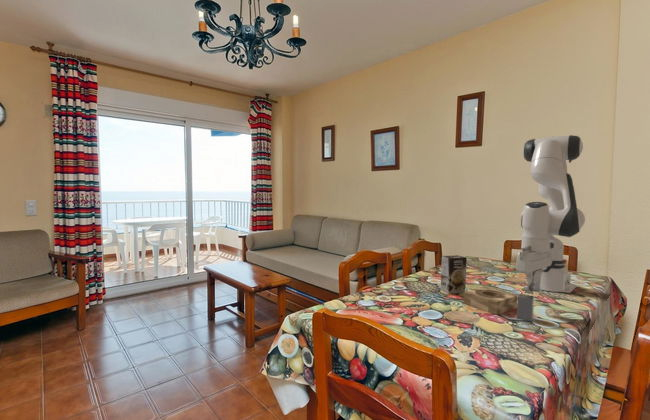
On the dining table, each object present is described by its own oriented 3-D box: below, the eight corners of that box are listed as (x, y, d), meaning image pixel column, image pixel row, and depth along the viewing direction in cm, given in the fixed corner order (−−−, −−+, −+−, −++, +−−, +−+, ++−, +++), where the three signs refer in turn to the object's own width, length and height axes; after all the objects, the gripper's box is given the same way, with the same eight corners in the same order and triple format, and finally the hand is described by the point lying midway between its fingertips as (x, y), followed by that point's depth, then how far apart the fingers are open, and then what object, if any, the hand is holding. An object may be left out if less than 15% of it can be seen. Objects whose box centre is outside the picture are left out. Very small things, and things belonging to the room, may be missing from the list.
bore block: (483, 298, 140) (483, 286, 140) (516, 308, 128) (517, 295, 128) (463, 303, 133) (463, 291, 132) (496, 315, 121) (497, 301, 121)
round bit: (530, 287, 127) (531, 267, 127) (542, 290, 124) (543, 269, 123) (524, 289, 125) (525, 269, 125) (536, 292, 122) (537, 271, 121)
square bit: (518, 314, 121) (519, 293, 121) (532, 317, 118) (533, 296, 118) (516, 318, 118) (517, 296, 117) (531, 321, 115) (532, 299, 114)
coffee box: (448, 294, 145) (449, 258, 144) (440, 289, 151) (441, 255, 150) (466, 292, 148) (467, 257, 147) (456, 288, 154) (457, 254, 153)
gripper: (529, 249, 115) (528, 287, 116) (556, 243, 126) (555, 278, 127) (511, 247, 120) (510, 283, 121) (539, 240, 131) (538, 274, 132)
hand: (533, 280), depth 124 cm, fingers closed on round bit, 4 cm apart
